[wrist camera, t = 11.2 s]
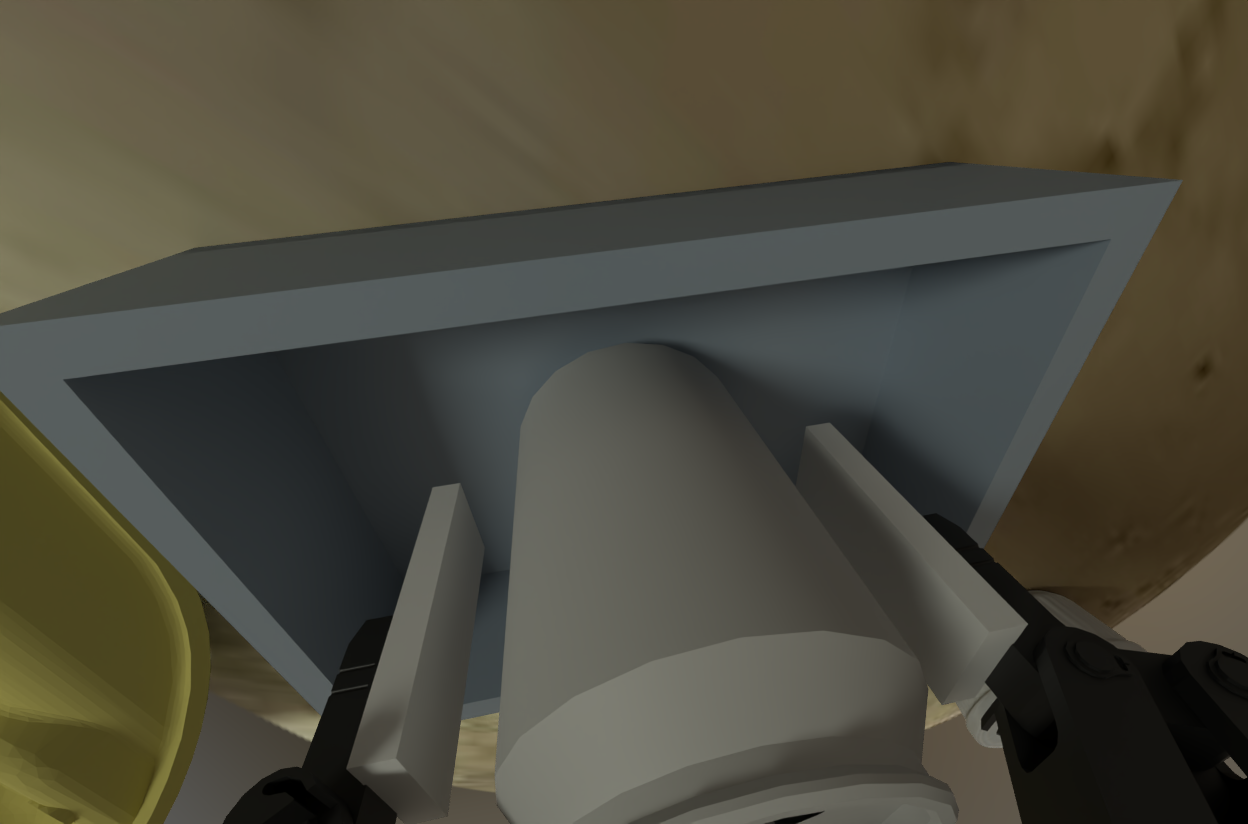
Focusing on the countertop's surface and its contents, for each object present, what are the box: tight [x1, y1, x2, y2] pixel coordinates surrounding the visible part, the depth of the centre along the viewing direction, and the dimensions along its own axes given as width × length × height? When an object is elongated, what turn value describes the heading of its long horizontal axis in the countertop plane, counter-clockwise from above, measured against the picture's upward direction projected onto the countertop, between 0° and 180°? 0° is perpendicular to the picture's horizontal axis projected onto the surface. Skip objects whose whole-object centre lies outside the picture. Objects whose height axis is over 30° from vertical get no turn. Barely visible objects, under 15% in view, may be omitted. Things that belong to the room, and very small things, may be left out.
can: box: [495, 343, 959, 824], centre depth 11 cm, size 8×8×12 cm
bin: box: [0, 162, 1183, 720], centre depth 14 cm, size 15×22×6 cm
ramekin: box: [956, 590, 1147, 748], centre depth 29 cm, size 11×11×5 cm
